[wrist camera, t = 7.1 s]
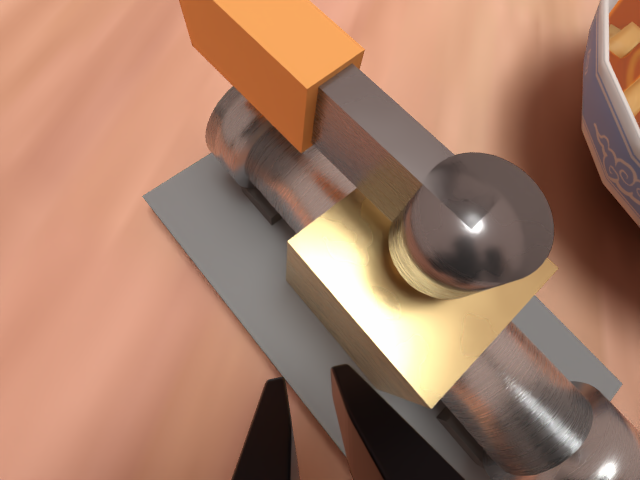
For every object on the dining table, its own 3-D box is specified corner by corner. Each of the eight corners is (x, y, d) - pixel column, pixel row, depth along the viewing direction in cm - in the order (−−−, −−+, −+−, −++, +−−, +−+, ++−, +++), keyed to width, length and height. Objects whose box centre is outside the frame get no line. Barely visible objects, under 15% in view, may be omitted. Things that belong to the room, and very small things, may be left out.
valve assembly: (596, 381, 18) (847, 403, 10) (446, 582, 15) (643, 858, 7) (320, 100, 22) (342, -48, 14) (152, 208, 19) (53, 96, 11)
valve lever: (510, 251, 11) (585, 216, 8) (445, 324, 10) (506, 312, 7) (251, 11, 13) (243, -80, 10) (177, 53, 12) (146, -35, 9)
